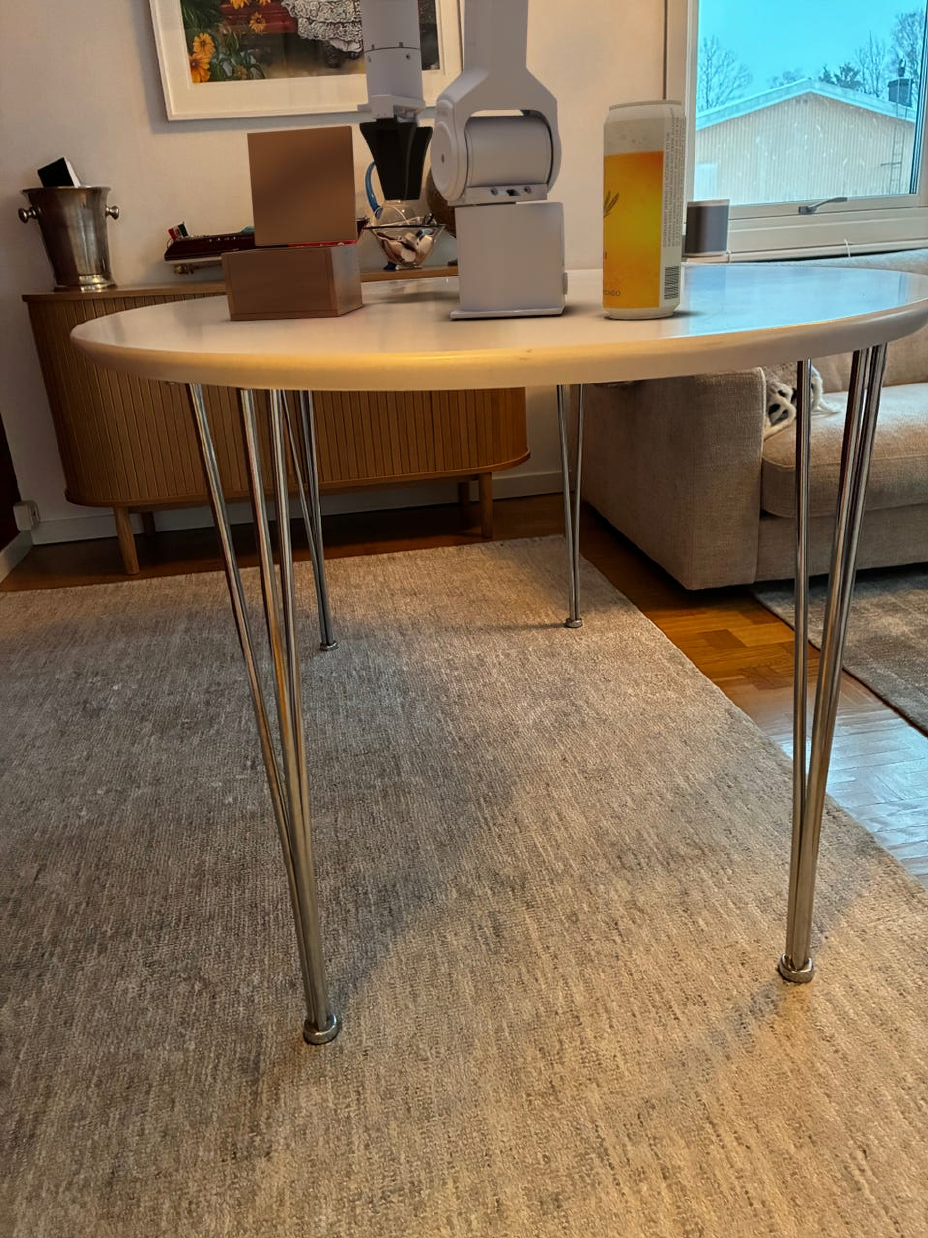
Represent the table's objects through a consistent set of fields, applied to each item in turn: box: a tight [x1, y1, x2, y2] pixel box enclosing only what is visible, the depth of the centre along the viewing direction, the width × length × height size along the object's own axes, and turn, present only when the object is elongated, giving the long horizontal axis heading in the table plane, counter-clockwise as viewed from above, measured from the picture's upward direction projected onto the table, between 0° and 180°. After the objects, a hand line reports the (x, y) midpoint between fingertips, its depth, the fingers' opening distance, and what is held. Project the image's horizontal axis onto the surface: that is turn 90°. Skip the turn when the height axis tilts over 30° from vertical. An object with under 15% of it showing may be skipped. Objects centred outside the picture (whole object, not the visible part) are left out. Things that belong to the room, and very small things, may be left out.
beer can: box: [602, 99, 688, 320], centre depth 72 cm, size 6×6×15 cm
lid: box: [246, 125, 359, 247], centre depth 94 cm, size 11×11×1 cm
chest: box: [220, 243, 364, 322], centre depth 92 cm, size 10×11×6 cm
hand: (403, 200), depth 99 cm, fingers open, 7 cm apart
